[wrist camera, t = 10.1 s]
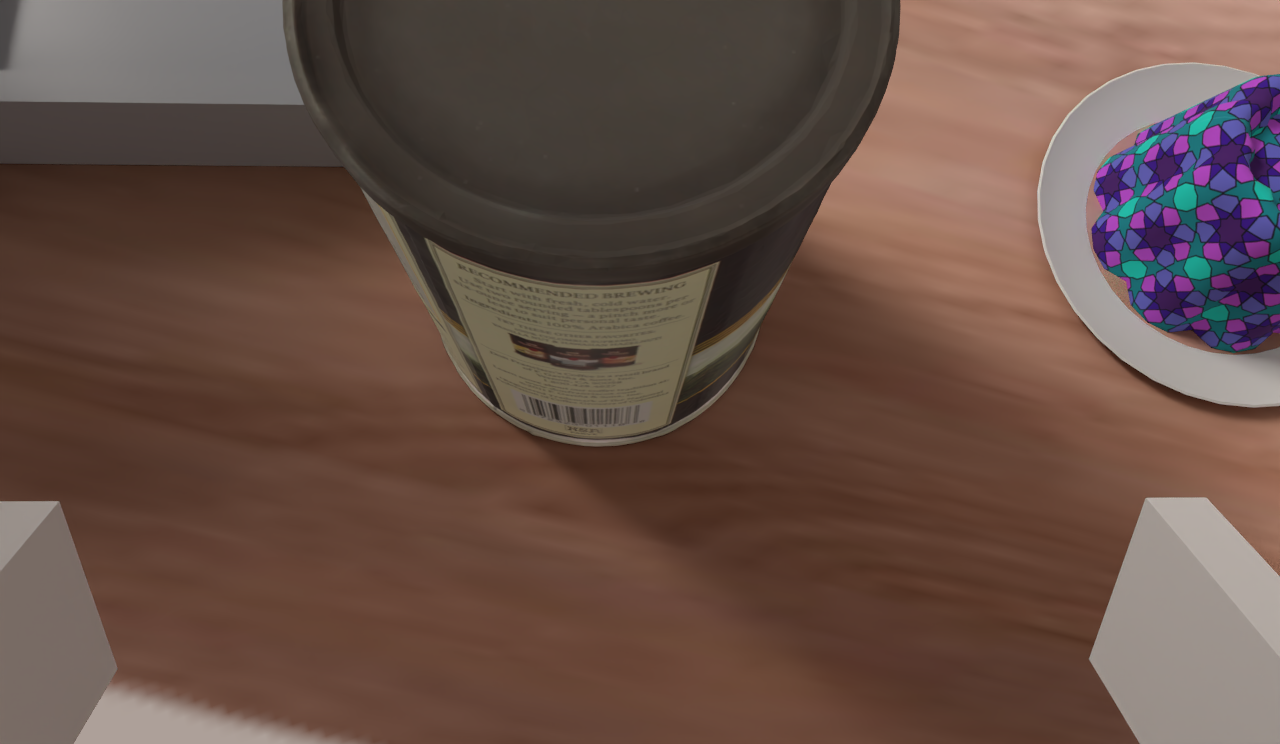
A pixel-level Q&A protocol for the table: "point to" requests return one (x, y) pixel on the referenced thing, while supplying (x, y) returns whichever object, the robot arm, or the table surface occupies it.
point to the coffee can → (594, 180)
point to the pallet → (151, 85)
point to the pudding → (1175, 224)
